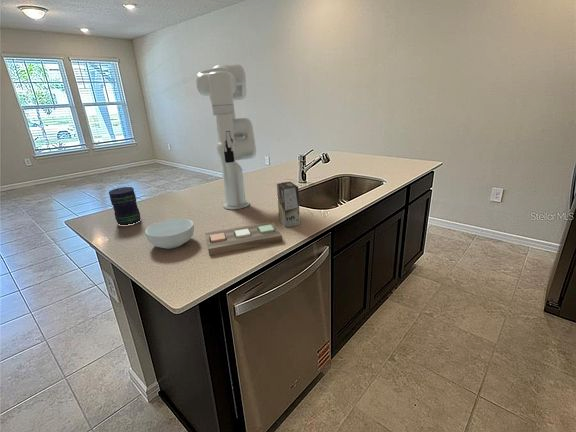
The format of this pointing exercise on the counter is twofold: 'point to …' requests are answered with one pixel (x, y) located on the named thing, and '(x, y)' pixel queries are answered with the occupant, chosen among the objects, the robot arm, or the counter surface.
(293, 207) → the coffee box
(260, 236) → the tile frame
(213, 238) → the terracotta tile
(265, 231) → the sage tile
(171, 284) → the counter surface
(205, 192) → the counter surface
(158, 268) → the counter surface
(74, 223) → the counter surface
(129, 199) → the storage jar
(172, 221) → the cereal bowl
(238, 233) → the cream tile
